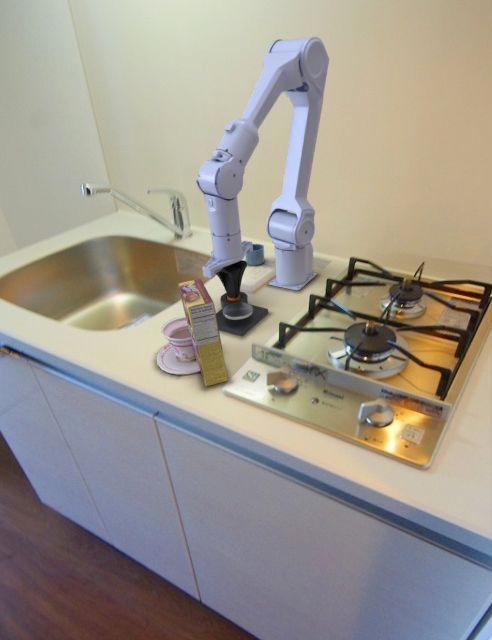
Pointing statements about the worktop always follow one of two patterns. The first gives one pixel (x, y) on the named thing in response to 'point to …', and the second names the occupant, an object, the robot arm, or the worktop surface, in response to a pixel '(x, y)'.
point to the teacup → (177, 348)
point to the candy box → (203, 331)
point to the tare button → (233, 298)
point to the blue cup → (255, 255)
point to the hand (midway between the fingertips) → (233, 296)
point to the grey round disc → (237, 310)
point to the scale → (240, 325)
